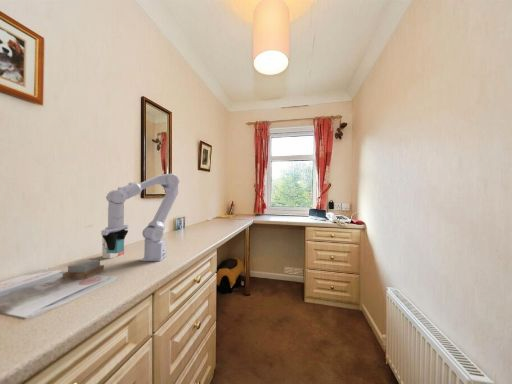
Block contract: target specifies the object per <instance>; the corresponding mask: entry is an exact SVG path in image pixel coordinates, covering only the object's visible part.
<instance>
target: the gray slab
mask: <svg viewBox="0 0 512 384" xmlns="http://www.w3.org/2000/svg"><path fill="white" fill-rule="evenodd" d="M100 265H101V260H98V259H97V260H95V259H83V260H80V261H77V262H75V263H71V264H69V265H68V266H67V272H72V273H86V272H88V271H91V270H93V269H95V268H97V267H100Z"/></svg>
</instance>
